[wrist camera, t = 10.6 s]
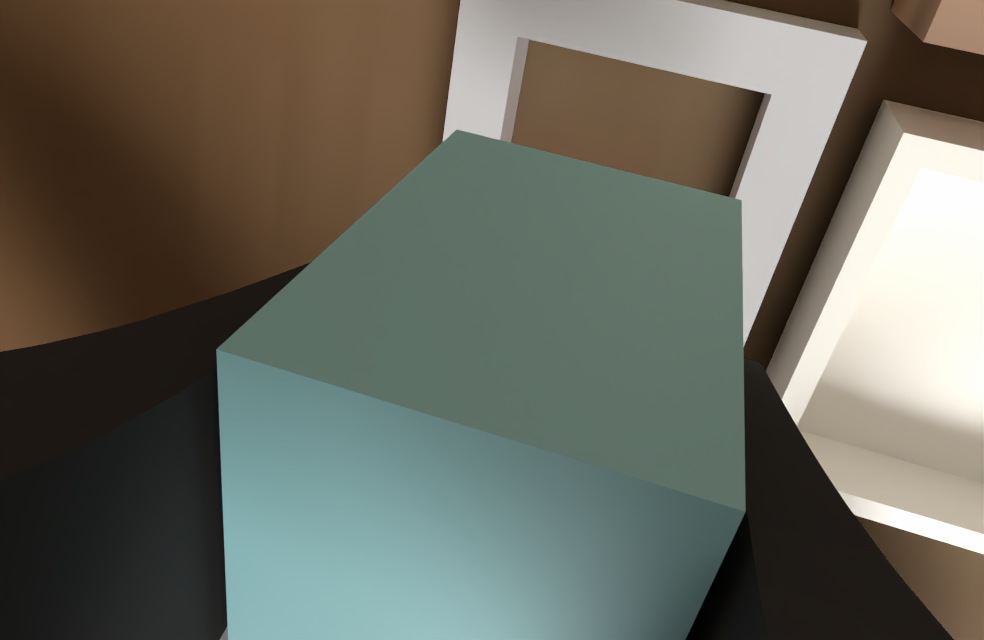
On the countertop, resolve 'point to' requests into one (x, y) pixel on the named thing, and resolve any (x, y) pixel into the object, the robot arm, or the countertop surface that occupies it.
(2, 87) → the countertop surface
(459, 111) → the socket block
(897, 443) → the tray
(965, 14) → the bar
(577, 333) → the light teal rectangular block
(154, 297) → the countertop surface
